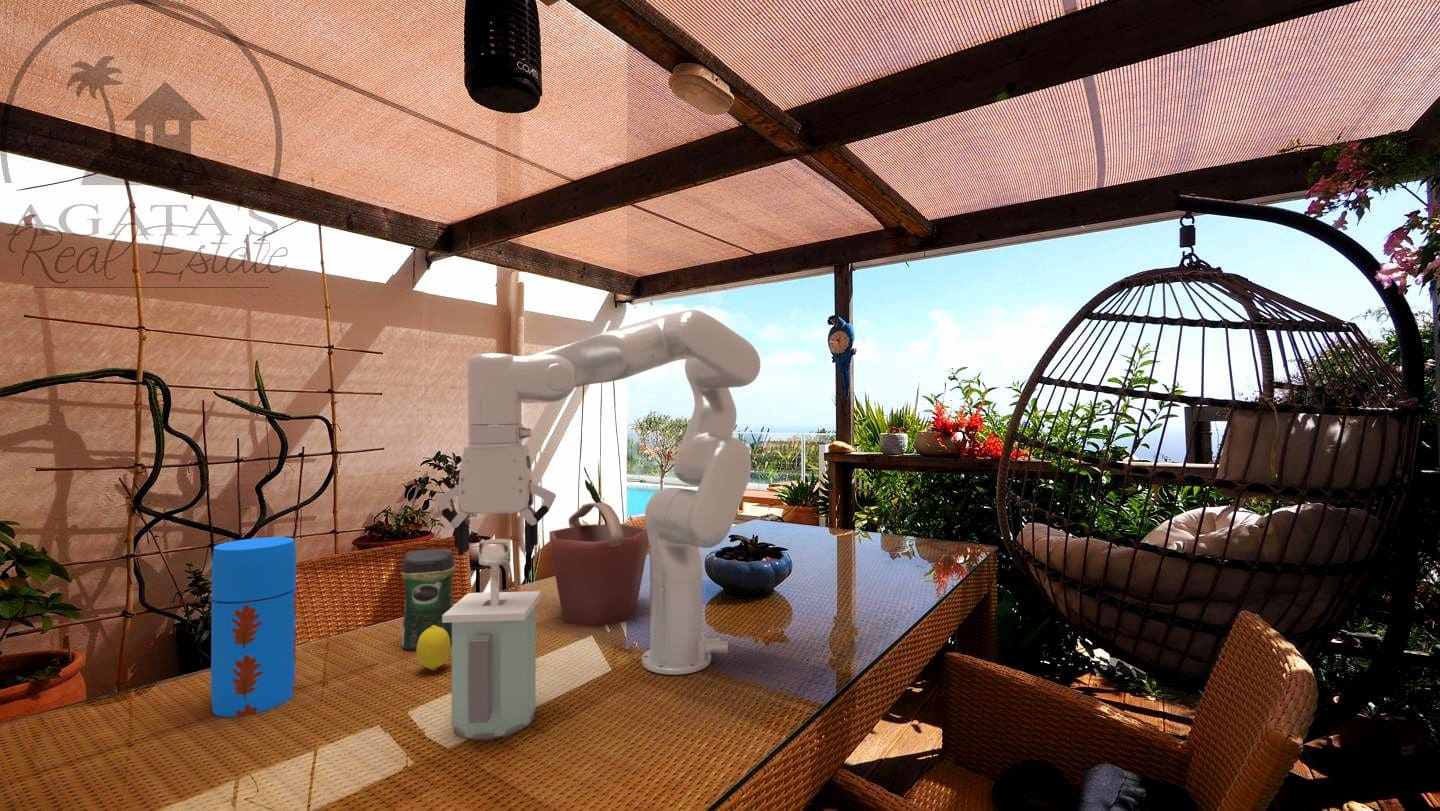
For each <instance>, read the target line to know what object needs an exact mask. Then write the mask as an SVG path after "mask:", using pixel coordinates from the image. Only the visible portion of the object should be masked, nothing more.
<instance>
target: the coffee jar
mask: <svg viewBox="0 0 1440 811" xmlns="http://www.w3.org/2000/svg"><path fill="white" fill-rule="evenodd" d="M455 567H456V566H455V559H454V553H453V550H452V549H451V548H435V549H433V548H431V549H422V550H421V549H420V550H412V551H408V552H407V553H406V554H405V555H404V556H403V561H402V568H401V573H400V574H401V578H402V581H403V583H404V591H405V596H404V598H405V599H404V600H405V601H404V613H403V623H402V634H401V645H402V647H403V648H404V649H406V650H416V649H417V643H418V640H419V637H420V635H421V634H422V633H423V632H424V631H425V630H426V629H428V628H430V627H431V626H432V625H436V626H437V627H441V628H443V629H444V630H445V631H446V632H447V633H448V635H449V638H450V643H452V622H450V623H442V615H443V614H445V613H446V612H447V611H448V610H449V609H450V608H451V607H453V606H454V605H453V597H452V596H453V595H452V578H453V575H454V574H455V569H456V568H455Z"/></svg>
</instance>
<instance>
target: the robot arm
mask: <svg viewBox="0 0 1440 811" xmlns="http://www.w3.org/2000/svg"><path fill="white" fill-rule="evenodd" d="M681 360H685V363H684V372H685V375H686V378H687V380H688V383H689V385H690V388H691V391H692V394H693V398H694V400H693V401H694V407H693V408H694V409H693V413H692V415H691V418H690V421H689V423H688V425H687V428H686V430H685V432H684V434H683V437H682V439H681V442H680V444H679V447H678V449H677V451H676V454H675V456H674V459H673V472H674V474H675V476H676V477H677V479H678V480H679V481H681V482H682V483H684V484H687V485H691V486H695V487H698V488H697V490H693V489H687V488H682V487H666V488H663V489H660V490H658V491H656V492H655V493H654V494H653V495H651V497H650V498H649V499H648V501H647V504H646V506H645V510H644V523H645V529H646V532H647V537H648V542H649V543H648V548H649V550H648V551H649V568H650V569H649V570H650V571H649V600H650V601H649V611H650V612H649V615H650V616H649V617H650V618H649V624H650V626H649V627H650V628H649V632H650V634H649V635H650V637H649V639H650V640H649V642H650V643H649V649H647V650H646V651H645V652H643V654H642V656H641V664H642V666H643V667H644V668H645V669H646V670H648V671H650V672H652V673H656V674H660V675H670V676H671V675H672V676H677V675H678V676H679V675H687V674H692V673H696V672H700V671H702V670H703V669H706V667H708V666H709V665H710V664H711V662H712V654H711V653H718V654H720V653H721V654H722V653H724V654H725V653H728V652H729V647H728V646H729V644H728V642H729V641H727V640H726V641H721V638H718V637H717V638H716V637H714V638H708V637H705V633H704V630H703V561H702V555H701V551H700V548H702V549H703V548H704V549H710V548H715V547H716V546H718V545H719V544H721V543H722V542H723V541H724V540H725V539H726V537H727V536H728V534H729V532H730V530H731V528H732V526H733V524H734V521H735V518H736V516H737V513H738V510H739V508H740V505H741V503H742V500H743V498H744V495H745V492H746V490H747V487H748V483H749V481H750V478H751V473H752V457H751V453H750V451H749V449H748V447H747V446H746V444H745V443H744V442H743V441H742V440H740V439H738V438H735V437H732V435H733V433H734V430H735V426H736V423H737V416H738V415H737V407H736V404H735V401H734V398H733V396H732V393H731V391H730V389H729V388H742V387H746V386H748V385H751V383H753V382H754V381H755V380H756V379H757V377H758V376H759V373H760V371H761V359H760V356H759V353H758V351H757V349H756V348H755V347H754V345H753V344H752V343H751V342H750V341H748V340H747V339H746V338H744V337H742V336H741V335H740V334H738V333H736V332H735V331H734V330H732V329H731V328H729V327H728V326H727V325H725V324H724V323H722V322H720V321H719V320H718V319H716V318H715V317H713V316H711V315H709V314H707V313H705V312H703V311H700V310H697V309H696V310H695V309H687V310H683V311H678V312H674V313H669V314H668V313H667V314H664V315H660V316H656V317H653V318H649V319H646V320H643V321H640V322H639V321H638V322H636V323H632V324H629V325H625V326H622V327H619V328H615V329H612V330H607V331H604V332H602V333H598V334H595V335H593V336H590V337H586V338H584V339H581V340H579V341H575V342H572V343H569V344H568V343H567V344H565V345H562V346H559V347H554V348H552V349H547V350H544V351H541V352H538V353H535V354H531V355H514V354H510V353H500V352H499V353H498V352H497V353H495V352H489V353H488V352H486V353H485V352H484V353H476V354H474V355H472V356H470V358H468V362H467V421H468V422H467V424H468V427H467V429H468V433H467V434H468V435H467V436H468V445H467V446H464V448H463V451H462V456H461V461H460V467H459V468H460V469H459V478H458V485H457V486H455V487H453V488H451V489H449V490H447V491H445V492H443V493H441V494H440V495H438V496H437V495H436V497H435V498H434V501H435V503H436V505H437V507H438V509H439V511H440V512H441V515H442V517H443V518H445V520H446V521H448V522H449V523H450V525H451V527H452V528H453V529H454V531H453V533H454V534H453V535H454V537H453V538H454V540H453V541H454V548H455V549H457V555H458V556H459V555H462V556H463V555H464V554H465V553H466V552H468V551H470V525H469V524H468V523H467V520H468V519H469V518H470V516H472V515H492V514H493V515H494V514H495V515H497V514H499V515H501V514H517V513H518V514H520V515H521V516H522V518H523V519H524V520H525V521H526V525H525V526H524V552H526V553H527V554H528V553H531V552H532V551H534V550H535V547H537V546H538V544H539V534H538V533H539V528H538V527H539V526H538V523H539V522H540V521H541V520H542V519H543V518H544V517H545V516H546V515H547V513H549V511H550V509H551V507H552V506H553V503H554V501H555V499H556V497H557V495H556V493H555V492H553V491H551V490H549V489H546V488H545V487H543V486H540V485H539V484H537V483H535V482H534V480H533V479H534V478H533V467H532V461H531V460H532V459H531V455H530V450H529V446H528V444H523V442H524V439H526V438H532V435H533V434H532V428H530V427H529V428H527V427H525V426H524V424H522V421H523V419H522V414H523V413H522V412H523V411H522V404H535V403H536V404H538V403H539V404H542V403H543V404H544V403H545V404H547V403H555V402H559V401H562V400H564V399H565V398H567V397H569V396H570V395H571V394H572V392H573V391H574V390H575V388H579V387H583V386H588V385H593V384H602V383H604V384H605V383H611V382H616V381H620V380H625V379H628V378H630V377H632V376H637V375H638V374H640V373H644V372H647V371H649V370H652V369H654V368H659V367H662V366H664V365H667V364H670V363H674V362H676V361H681ZM534 496H537V497H539V498H542V500H543V501H542V504H541V506H540V508H538V509H537V511H536V510H535V509H534V508H533V507H532V506H533V504H534V498H535V497H534ZM455 497H457V498H458V499H457V500H458V502H457V503H458V510H459V512H458V511H456V510H455V508H453V507H451V504H450V501H451V500H452V499H453V498H455Z"/></svg>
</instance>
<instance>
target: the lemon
mask: <svg viewBox="0 0 1440 811" xmlns="http://www.w3.org/2000/svg"><path fill="white" fill-rule="evenodd" d="M451 650H452V642H450V638H449V635H448V633H447V632H446V631H445V630H444V629H443V628H441V627H437V626H436V625H432V626H431V627H430V628H428V629H426V630H425V631H424V632H423V633H422V634H421V635H420V637H419V640H418V643H417V649H415V651H416V653H415V654H416V658H417V661H418V663H419V664H420V665H421V666H422V667H424V668H426V669H429V670H430V671H433V672H435V671H436V670H437V669H438V668H439V667H440V666H442V665H444V663H445V662H447V660H448V658H449V656H450V654H451Z"/></svg>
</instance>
